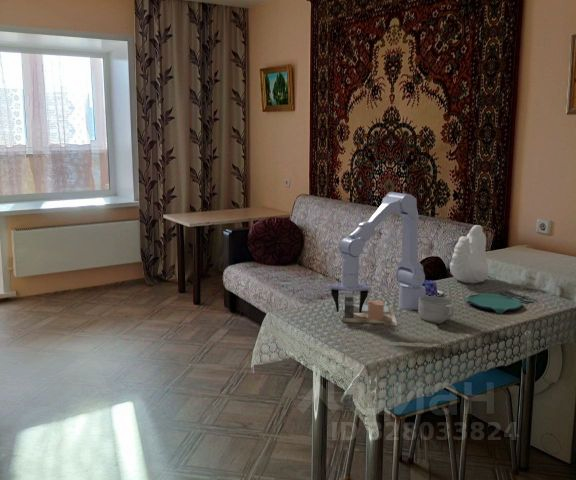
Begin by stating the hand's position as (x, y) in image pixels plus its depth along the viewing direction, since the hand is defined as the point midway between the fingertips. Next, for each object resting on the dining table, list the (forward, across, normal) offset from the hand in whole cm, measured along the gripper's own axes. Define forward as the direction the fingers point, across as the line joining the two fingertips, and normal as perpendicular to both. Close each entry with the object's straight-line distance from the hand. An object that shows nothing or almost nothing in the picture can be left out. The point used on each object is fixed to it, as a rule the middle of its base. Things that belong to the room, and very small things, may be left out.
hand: (348, 311), depth 198 cm
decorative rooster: (+4, +50, +60) cm, 78 cm away
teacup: (+4, +30, +3) cm, 30 cm away
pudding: (+4, +32, +40) cm, 51 cm away
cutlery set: (+4, +59, +30) cm, 66 cm away
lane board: (+4, +7, +5) cm, 9 cm away
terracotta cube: (+2, +9, 0) cm, 9 cm away
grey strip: (+2, +6, +10) cm, 12 cm away
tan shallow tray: (+2, +6, 0) cm, 6 cm away
